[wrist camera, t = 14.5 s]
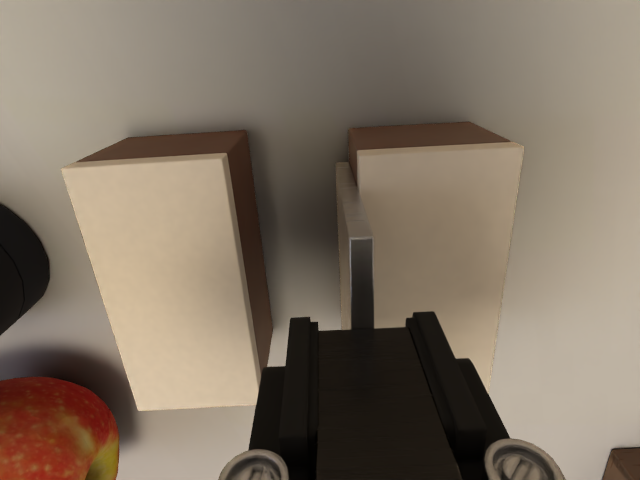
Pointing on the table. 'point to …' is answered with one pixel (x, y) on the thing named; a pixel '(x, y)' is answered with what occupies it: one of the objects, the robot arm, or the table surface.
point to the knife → (372, 376)
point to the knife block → (623, 465)
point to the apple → (55, 432)
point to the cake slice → (440, 226)
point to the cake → (178, 265)
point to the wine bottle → (19, 269)
